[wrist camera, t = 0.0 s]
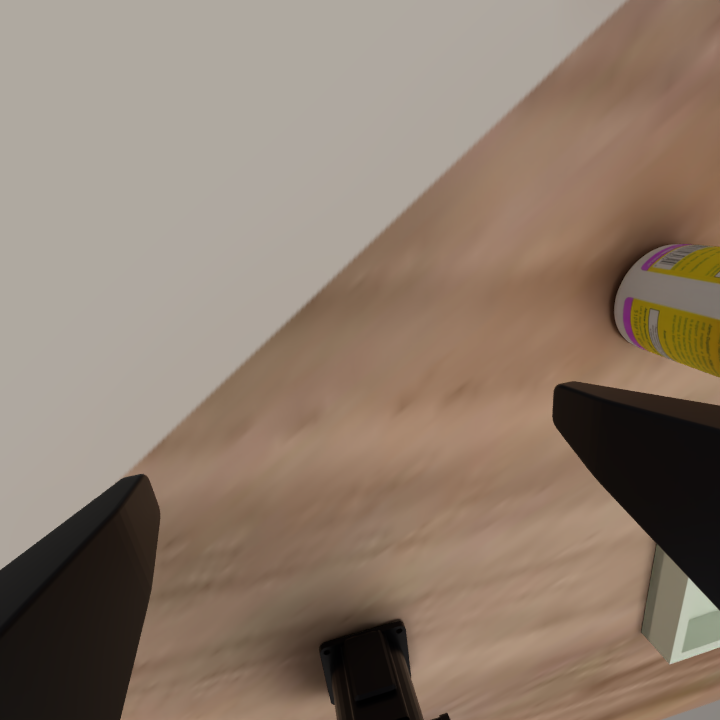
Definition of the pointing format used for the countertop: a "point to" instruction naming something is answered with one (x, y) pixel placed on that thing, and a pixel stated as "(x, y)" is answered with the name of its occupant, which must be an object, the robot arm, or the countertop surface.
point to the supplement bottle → (674, 305)
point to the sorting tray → (678, 613)
